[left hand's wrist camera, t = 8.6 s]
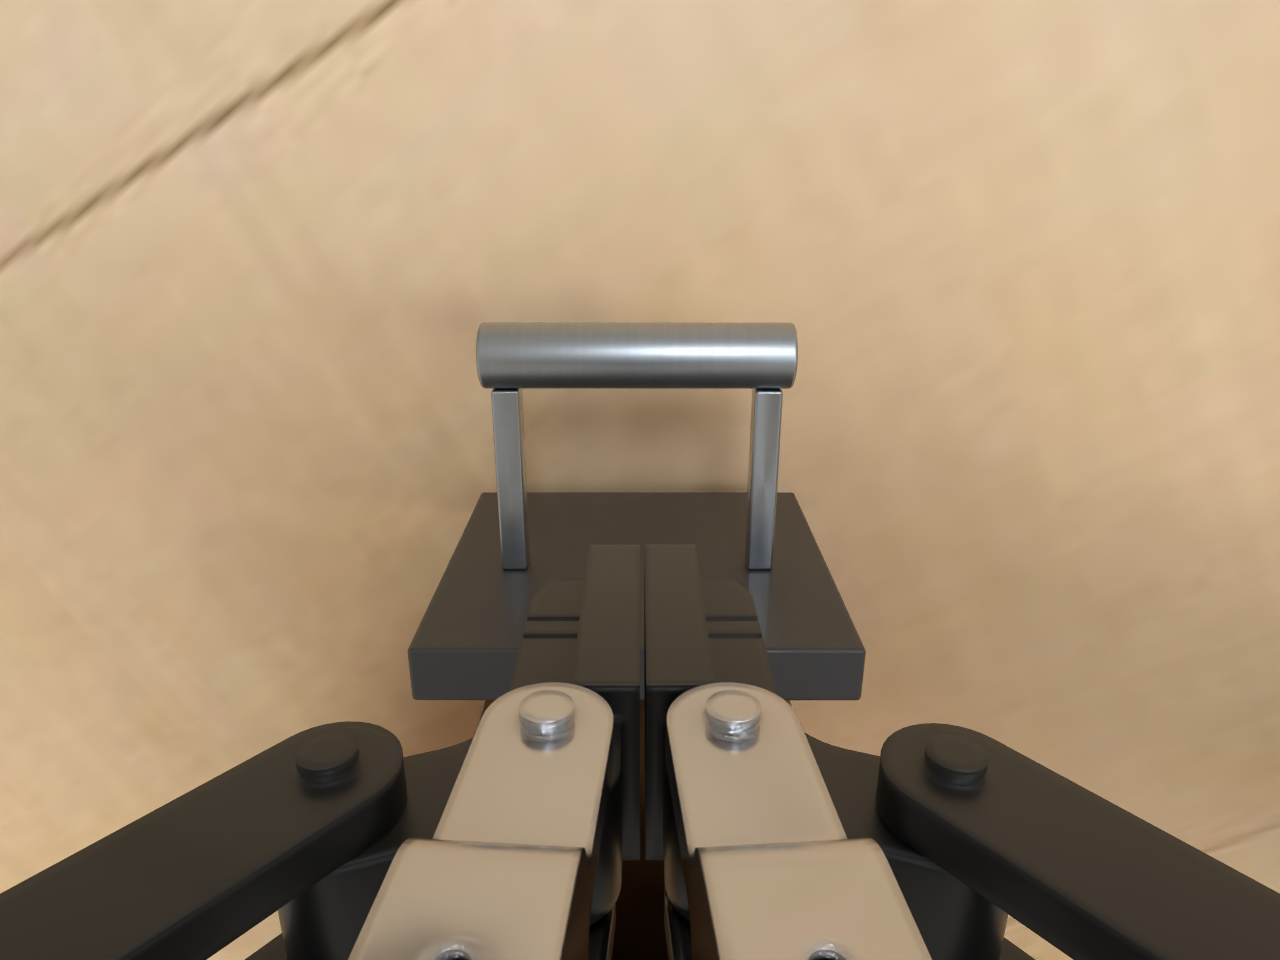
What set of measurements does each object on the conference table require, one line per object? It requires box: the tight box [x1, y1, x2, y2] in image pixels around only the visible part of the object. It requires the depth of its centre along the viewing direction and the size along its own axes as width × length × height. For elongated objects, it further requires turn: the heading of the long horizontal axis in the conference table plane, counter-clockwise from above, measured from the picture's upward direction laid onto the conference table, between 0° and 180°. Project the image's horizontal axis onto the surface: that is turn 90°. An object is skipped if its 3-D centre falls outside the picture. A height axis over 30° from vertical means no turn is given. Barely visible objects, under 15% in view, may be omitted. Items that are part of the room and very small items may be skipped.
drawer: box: [408, 323, 866, 960], centre depth 23 cm, size 25×9×9 cm, turn 0°
